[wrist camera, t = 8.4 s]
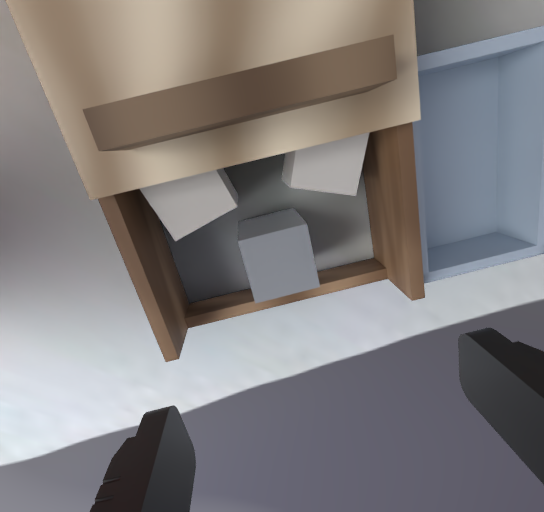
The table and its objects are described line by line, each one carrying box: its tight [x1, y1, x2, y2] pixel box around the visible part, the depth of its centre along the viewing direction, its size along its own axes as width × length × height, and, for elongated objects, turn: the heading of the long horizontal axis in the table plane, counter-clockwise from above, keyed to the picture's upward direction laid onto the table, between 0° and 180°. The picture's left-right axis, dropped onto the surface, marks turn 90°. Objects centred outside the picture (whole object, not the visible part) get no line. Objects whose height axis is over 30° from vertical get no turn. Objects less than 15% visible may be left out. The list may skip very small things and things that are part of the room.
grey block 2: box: [237, 208, 320, 304], centre depth 21 cm, size 4×4×5 cm
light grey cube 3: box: [281, 133, 369, 196], centre depth 19 cm, size 4×4×4 cm
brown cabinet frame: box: [98, 122, 425, 362], centre depth 20 cm, size 16×13×6 cm
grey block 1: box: [139, 168, 238, 241], centre depth 19 cm, size 4×4×5 cm
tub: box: [412, 26, 544, 283], centre depth 20 cm, size 9×13×4 cm, turn 13°
